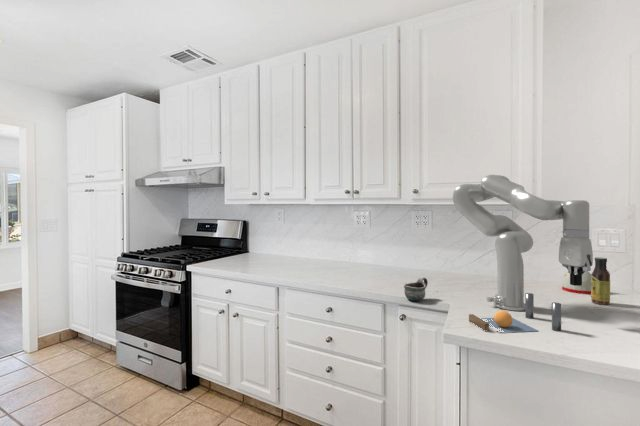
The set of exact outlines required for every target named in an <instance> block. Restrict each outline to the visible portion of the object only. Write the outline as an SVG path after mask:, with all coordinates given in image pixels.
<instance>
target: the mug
mask: <svg viewBox="0 0 640 426" xmlns="http://www.w3.org/2000/svg"><path fill="white" fill-rule="evenodd" d="M428 282H429V281H428V279H427V278H426V277H424V276H420V277H418V278H417V280H416V282H408V283H405V284H403V288H404V295H405V297H406V299H408V300H409V301H412V302H419V301H423V300H424V299H425V297H426V289H427V287H428V284H429V283H428Z"/></svg>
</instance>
